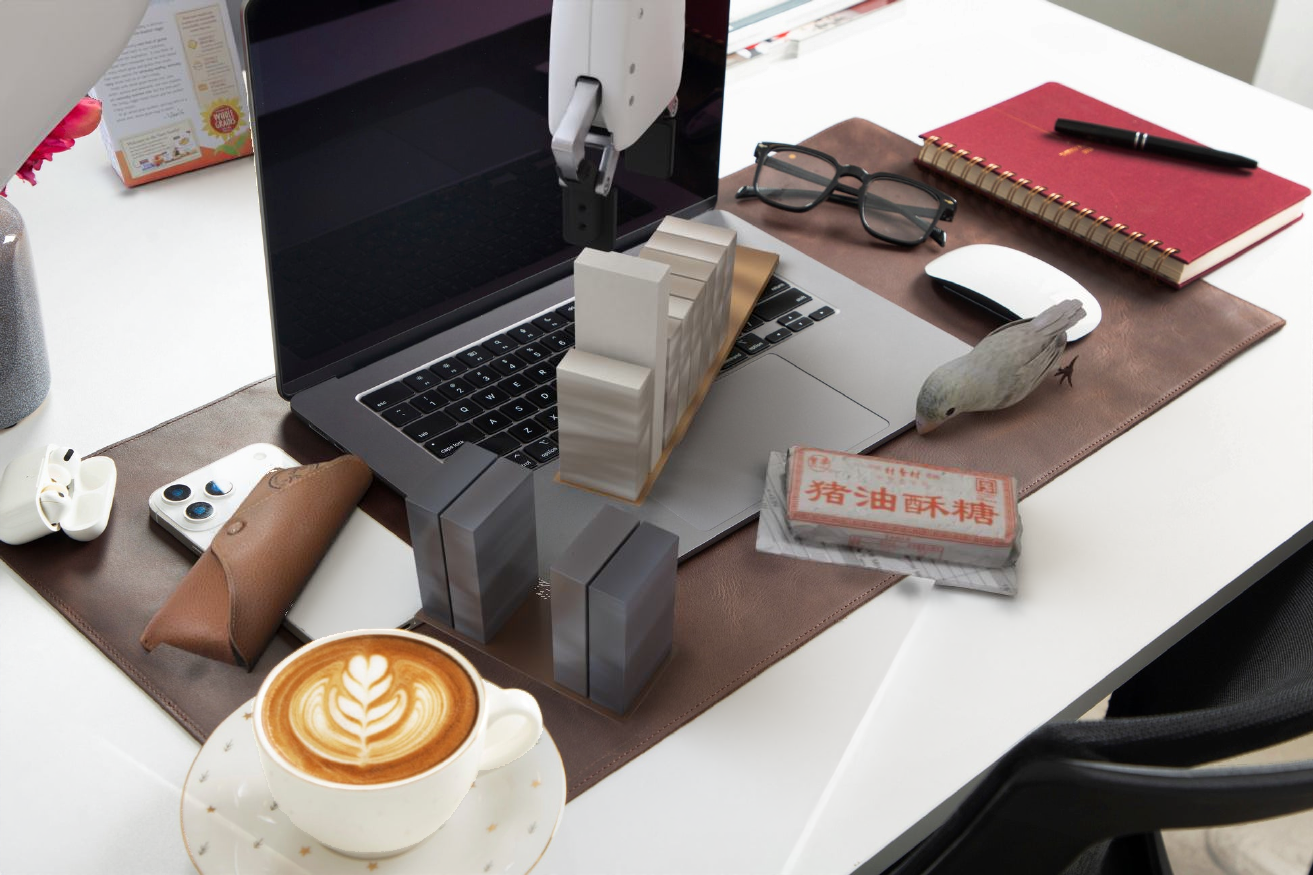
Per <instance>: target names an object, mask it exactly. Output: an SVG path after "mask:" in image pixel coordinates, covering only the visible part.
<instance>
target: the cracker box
mask: <svg viewBox="0 0 1313 875" xmlns="http://www.w3.org/2000/svg"><path fill="white" fill-rule="evenodd" d="M246 91H247V87H246V83H245V78H244V74H243V70H242V65H241V61H240V57H239V53H238V48H237V43H236V40H235V34H234V31H233V27H232V22H231V16H230V13H229V9H228V5H227V1H226V0H151V1H150V3H149V6H148V8H147V11H146V13H145V15H144V17H143V19H142V21H141V22H140V24H139V26H138V27H137V29H136V31H135V32H134V34H133V36H132V37H131V39H130V41H129V42H128V44H127V46H126V47H125V49H124V51H123V52H122V53H121V55H120V56H119V57H118V59H117V60H116V61H115V62H114V64H113V65H112V66H111V67H110V69H109V70H108V71H107V72H106V73H105V75H104V76H103V77H102V78H101V79H100V80H99V81H98V82H97V83H96V85H95V86H94V87H93V88H92V89H91V90H90V91H89V92H88V93H87V95H88V97H89V96H90V97H91V98H94V99H96V100H99V101H100V102H102V120H101V123H100V125H99V126H98V129H99V132H100V135H101V138H102V142H103V144H104V147H105V150H106V152H107V156H108V159H109V162H110V165H111V167H112V168H113V170H114V171H115V172H116V173H117V175H118V177H119V178H120V179H121V180H122V181H123V183H124V184H125V186H126V188H132V187H135V186H138V185H142V184H146V183H149V182H152V181H157V180H161V179H164V178H168V177H171V176H175V175H179V174H183V173H186V172H189V171H193V170H197V169H200V168H201V169H202V168H204V167H208V166H212V165H216V164H219V163H222V162H226V161H230V160H235V159H236V158H241V157H245V156H248V155H252V154H254V153H253V147H252V139H251V129H250V122H249V110H248V106H247V95H248V92H246Z"/></svg>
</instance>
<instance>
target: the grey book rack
mask: <svg viewBox="0 0 1313 875" xmlns="http://www.w3.org/2000/svg"><path fill="white" fill-rule="evenodd" d="M404 501H405V502H404V503H405V507H406V508H405V510H406V514H407V520H408V527H409V532H410V539H411V545H412V552H413V558H414V564H415V569H416V577H417V582H418V590H419V595H420V601H421V607H420V609H419V610H417V612H416V613H415V614H414V615H413V617H414V618H416V619H417V620H420V621H422V622H423V623H425V624H427V625H429V626H430V627H433V628H435V629H437V630H439V631H441V632H443V633H444V634H447V635H448V636H450V637H452V638H454V639H455V640H458V641H460V642H461V643H463V644H465V645H466V646H467V645H468V646H469V647H471V648H473V649H474V650H477V651H479V652H481V653H483V654H484V655H486V656H488V657H490V658H492V659H494V660H496V661H497V662H500V663H502V664H503V665H505V666H507V667H510V668H511V669H513V670H515V671H517V672H519V673H521V674H522V675H524V676H526V677H528V678H530V679H532V680H534V681H535V682H538V683H540V684H542V685H544V686H546V687H547V688H549V689H551V690H553V691H555V692H557V693H559V694H561V695H562V696H565V697H566V698H568V699H570V700H572V701H573V702H575V703H578V704H579V705H582V706H584V707H586V708H587V709H590V710H591V711H593V712H595V713H596V714H598V715H601V716H603V717H605V718H607V719H608V720H610V721H613V722H614V723H616V724H618V725H620V726H622V727H625V726H626V725H627V724H628V722H629V721H630V720H631V718H632V717H633V716H634V714H635V713H636V712H637V710H638V708H639V707H640V706H641V704H642V703H643V701H644V700H645V699H646V697H647V696H648V695H649V693H650V692H651V690H652V688H653V687H654V686H655V684H656V683H657V681H658V680H659V679H660V678H661V677H662V675H663V673H664V672H665V670H666V669H667V667H668V666H669V665H670V663H671V662H672V660H673V659H674V658H675V656H676V655H677V654H678V652H679V651H680V649H681V648H682V646H681V645H679V644H677V643H674V642H673V635H674V634H673V633H674V622H675V621H674V620H675V604H676V591H677V590H676V589H677V576H678V563H679V562H678V560H679V547H680V535H678V534H675V533H674V532H671V531H669V530H667V529H664V528H662V527H660V526H658V525H656V524H653V523H651V522H649V521H647V520H643V521H642V522H641V518H640V517H638V516H636V515H633V514H631V513H629V512H626V511H624V510H622V509H620V508H618V507H615V506H614V505H610V504H608V503H605V504H604V505H603V507H602V508H601V509H600V510H599V511H598V512H597V513H596V515H595V516H594V517H592V519H591V520H590V521H589V522H588V524H587V525H586V526H585V527H584V528H583V529H582V530H581V532H580V533H579V534H578V535H577V536H576V537H575V538H574V540H572V541H571V543H570V544H569V545H568V546H567V547H566V548H565V550H564V551H563V552H562V553H561V554H560V555H559V557H557V558H556V559H555V561H554V562H553V563H552V565H550V566H549V568H548V569H549V581H547V583H548V582H549V583H550V584H546V583H539V582H543V581H541V580H542V579H543V578H541V579H540V580H539V578H540V576H539V573H540V572H539V558H538V539H537V536H538V535H537V520H536V518H537V517H536V499H535V482H534V470H532V469H530V468H529V467H526V466H524V465H523V464H522V465H521V464H519V463H517V462H515V461H513V460H510V459H508V458H505V457H504V456H500V457H499V455H498V454H497V453H495V452H492V451H490V450H488V449H487V448H483V447H482V446H479V445H476V444H475V443H472V442H471V441H465V443H463V444H462V445H461V446H460V447H459V448H458V449H457V450H456V451H455V452H454V453H452V454H451V456H449V457H448V458H447V459H446V460H445V461H444V462H443V463H442V464H440V465H439V467H437V468H436V469H435V470H434V471H433V472H432V473H431V474H430V475H429V476H427V477H426V478H425V480H424V481H422V482H421V483H420V484H419V485H418V486H417V487H416V488H415V489H413V491H411V493H409V494H408V495H407V496H406V497H405V498H404ZM539 584H543V585H550V586H541V585H539ZM537 586H539V587H537ZM535 588H536V589H535ZM546 589H548V590H550V591H548V590H546ZM540 591H544V592H543V593H542V592H540ZM536 593H541V594H542V595H538V594H536ZM546 594H548V595H546ZM541 596H545V597H541ZM548 596H550V597H548ZM544 598H547V599H544Z"/></svg>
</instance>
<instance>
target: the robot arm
mask: <svg viewBox="0 0 1313 875" xmlns="http://www.w3.org/2000/svg"><path fill="white" fill-rule="evenodd" d="M150 1H151V0H0V193H2V191H3V189H4V188H5V187H6V186H7V185H8V184H9V182H10V181H11V179H12V178H13V177H14V176H15V175H16V174H17V172H18V171H19V170H20V168H22V166H23V165H24V163H25V162H26V161H27V160H28V159H29V157H30V156H31V155H32V153H33V152H34V151H35V150H36V149H37V147H39V146H40V144H41V143H42V142H43V141H45V139H46V138H47V137H48V135H50V133H51V132H53V130H54V129H55V128H56V127H57V125H59V124H60V123H61V122H62V121H63V119H64V118H66V116H67V115H69V113H70V112H72V111H73V109H74V108H75V107H76V106H77V105H78V104H79V103H80V102H82V100H83V99H84V98H85V97H86V96H87V95H88V92H89V91H90V90H91V89H92V88H93V87H94V86H95V85H96V83H97V82H98V81H99V80H100V79H101V78H102V77H103V76H104V75H105V73H106V72H107V71H108V70H109V69H110V67H111V66H112V65H113V64H114V62H115V61H116V60H117V59H118V57H119V56H120V55H121V53H122V52H123V51H124V49H125V47H126V46H127V44H128V42H129V41H130V39H131V37H132V36H133V34H134V32H135V31H136V29H137V27H138V26H139V24H140V22H141V21H142V19H143V17H144V15H145V13H146V11H147V8H148V6H149V3H150ZM551 10H552V11H551V23H550V38H549V66H548V67H549V68H548V128H549V129H548V130H549V133H550V134H551V136H552V139H551V146H550V147H551V152H552V154H553V156H554V160H555V163H556V164H554V169H555V172H556V175H557V177H558V184H559V186H560V187H561V188H562V237H563V240H564V241H565V243H568V244H571V245H574V246H577V247H583V248H585V247H586V248H591V249H595V250H599V251H603V252H611V251H614V249H615V248H616V246H617V230H618V229H617V228H618V226H617V224H618V188H614V187H612V184H613V180H614V176H615V172H616V169H617V165H618V161H619V157H620V153H621V151H623V150H624V169H625V170H626V171H627V172H629V173H635V174H639V175H644V176H648V177H653V178H657V179H661V180H668V179H670V177H671V176H672V175H673V173H674V164H675V163H674V161H675V144H676V142H675V140H676V123H677V120H676V119H674V117H675V116H676V114H677V111H678V108H679V106H678V105H679V98H678V96H677V92H678V90H679V87H680V84H681V80H682V71H683V63H684V53H685V52H684V51H685V30H686V0H553V1H552V9H551ZM592 126H594V127H599V128H604V129H606V130H607V132H609V133H610V136H608V135H603V134H598V133H595V132H590V131H591V130H590V129H591V127H592ZM585 147H586V148H592V149H596V150H601V151H603V153H602V157H601V161H600V164H599V168H597V166H595V164H594V162H592V160H589V159H587V158H585V156H586V151H585V150H586V149H585Z"/></svg>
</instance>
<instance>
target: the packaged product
mask: <svg viewBox="0 0 1313 875" xmlns="http://www.w3.org/2000/svg"><path fill="white" fill-rule="evenodd" d="M764 480H765V481H764V489H763V493H762V499H761V503H760V511H759V520H758V525H757V533H756V539H755V540H756V541H755V553H756V552H757V553H763V554H768V555H774V556H779V557H784V558H789V559H796V560H803V561H810V562H816V563H822V564H832V565H836V566H844V567H851V568H858V569H865V570H871V571H878V572H883V573H887V574H895V575H903V576H912V577H915V578H923V579H931V580H935V581H934V582H933V585H941V586H949V587H958V588H966V589H971V590H977V591H983V592H989V593H995V594H998V595H999V594H1001V595H1004V596H1005V595H1006V596H1011V597H1013V596H1015V595H1016V594H1017V593H1018V584H1017V582H1018V581H1017V567H1016V565H1017V564H1016V563H1017V561H1018V559H1019V558H1020V556H1021V554H1022V543H1021V539H1022V535H1023V531H1024V528H1023V523H1022V517H1021V514H1020V513H1019V506H1018V504H1019V496H1020V495H1019V493H1018V488H1019V480H1018V479H1017V477H1014V476H1007V475H1002V474H996V473H989V472H985V471H976V470H972V469H971V470H970V469H963V468H955V467H950V466H940V465H936V464H930V463H922V462H916V461H910V460H909V461H907V460H900V459H898V458H897V459H896V458H885V457H880V456H873V455H861V454H857V453H850V452H843V451H837V450H826V449H823V448H817V447H809V446H805V445H801V446H800V445H793V446H789V447H787V451H786V453H785V452H779V451H776V450H775V451H774V450H772V451H770V452H769V457H768V461H767V465H766V470H765V479H764Z"/></svg>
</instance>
